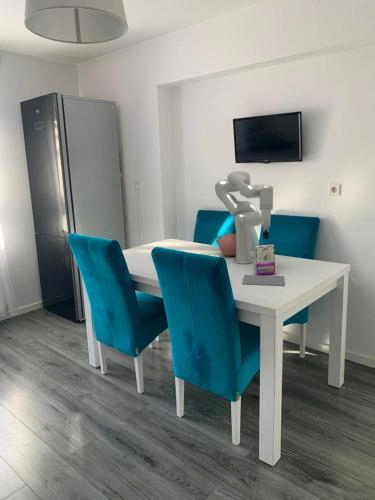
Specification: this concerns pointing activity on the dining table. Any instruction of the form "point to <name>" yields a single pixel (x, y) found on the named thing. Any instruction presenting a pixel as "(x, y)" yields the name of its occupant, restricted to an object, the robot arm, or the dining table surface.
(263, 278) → the rubber mat
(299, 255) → the dining table surface
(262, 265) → the candy bar box
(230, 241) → the balloon
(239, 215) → the robot arm
